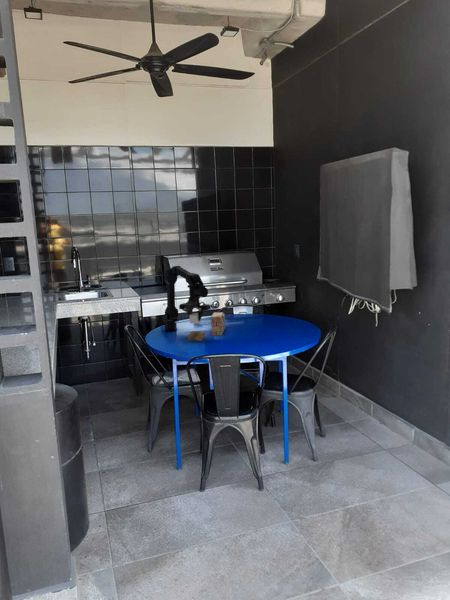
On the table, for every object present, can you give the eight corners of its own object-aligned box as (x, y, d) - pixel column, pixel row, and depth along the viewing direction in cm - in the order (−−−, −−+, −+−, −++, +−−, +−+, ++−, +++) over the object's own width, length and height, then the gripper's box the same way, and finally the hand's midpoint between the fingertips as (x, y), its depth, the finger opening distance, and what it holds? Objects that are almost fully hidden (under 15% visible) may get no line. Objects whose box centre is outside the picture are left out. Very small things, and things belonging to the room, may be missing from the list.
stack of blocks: (216, 327, 303) (215, 309, 301) (225, 327, 303) (224, 309, 300) (211, 335, 282) (211, 316, 280) (221, 335, 282) (221, 316, 279)
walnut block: (188, 340, 273) (188, 334, 272) (192, 337, 280) (192, 331, 280) (201, 341, 271) (200, 334, 270) (204, 337, 279) (204, 331, 278)
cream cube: (189, 323, 272) (189, 315, 272) (193, 321, 277) (193, 313, 276) (197, 323, 270) (196, 315, 270) (201, 321, 275) (200, 313, 274)
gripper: (173, 297, 267) (175, 322, 270) (202, 298, 260) (203, 324, 263) (183, 293, 277) (184, 318, 280) (210, 295, 270) (211, 320, 273)
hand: (195, 320), depth 274 cm, fingers closed on cream cube, 5 cm apart
